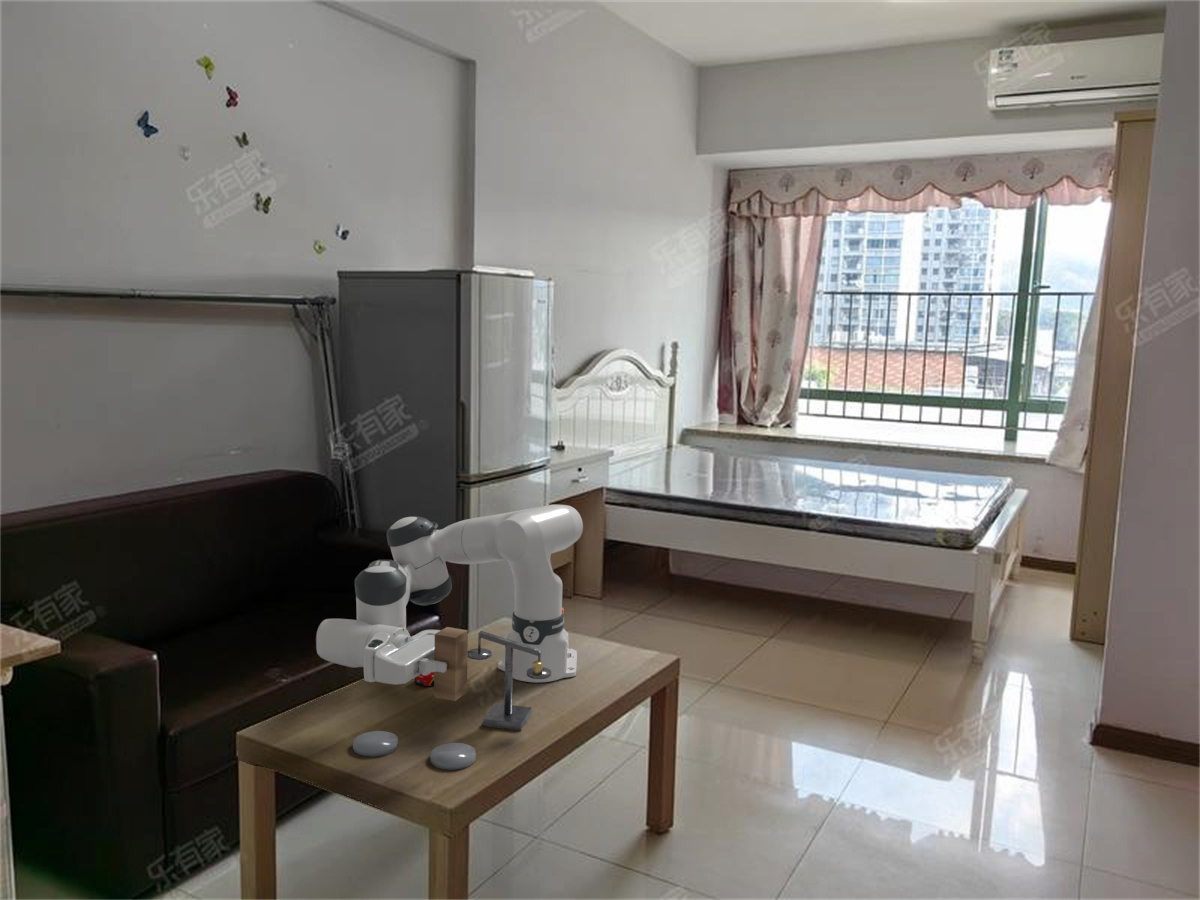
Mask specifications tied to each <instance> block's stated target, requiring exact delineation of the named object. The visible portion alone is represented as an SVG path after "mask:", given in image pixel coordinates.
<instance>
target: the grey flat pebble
mask: <svg viewBox="0 0 1200 900" xmlns="http://www.w3.org/2000/svg"><path fill="white" fill-rule="evenodd" d="M476 751H477V750H476V749H475V748H474V747H473V746H472V745H469V744H467V743H461V742H449V743H443V744H440V745H437V746H436V747H434V748H433V749H432V750H431V751H430V754H429V755H430V759H429V760H430V763H431V765H432V766H434V767H435V768H437V769H440V770H445V771H446V770H447V771H455V770H462V769H465V768H468V767H470V766H471V765H473V764H475V762H476V758H477V757H476V755H477V752H476Z"/></svg>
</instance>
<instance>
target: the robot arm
mask: <svg viewBox="0 0 1200 900" xmlns="http://www.w3.org/2000/svg"><path fill="white" fill-rule="evenodd" d="M438 527H439V524H438V523H437V522H435V521H430V520H429V519H427V518H425V517H422V516H418V515H415V516H407V517H402V518H401V519H398V520H397V521H396V522H394V523H393V524H392V525H390V526H389V527H388V529H387V531H386V539H387V540H386V541H387V546H388V547H389V548H390V552H391V555H392V558H393V560H392V559H378V560H374V561H372V562H370V563H369V565H368V566H367V567H366V568H365V569H363V570H361V571H360V572H359V574H358V575H357V576H356V577H355V579H354V590H355V591H354V592H355V601H356V619H349V618H348V619H347V618H326V619H324V620H322V621H321V622H320V624H319V625H318V628H317V631H316V634H315V649H316V653H317V655H318V656H319V657H320V658H321V659H323V660H325V661H327V662H330V663H333V664H337V665H340V666H344V667H348V668H356V669H357V668H363V677H364V681H365V682H367V683H375V682H377V683H382V684H387V685H388V684H389V685H398V686H399V685H404V684H408V683H409V682H410V681H412V680H413V679H415V677H416V676H418V675H420V674H421V673H423V672H424V673H428V672H442V673H444V672H446V671H447V670H449V661H445V660H439V661H434V646H435V634H436V633H437V632H439V631H441V630H442V629H441V630H440V629H425V630H422V631H419V632H418V633H416V634H415V635H412V636H411V634H410V633H409V631H408V630H407V608H406V607H407V605H408V603H409V602H411V603H413V604H415V605H419V606H429V605H433V604H436V603H439V602H441V601H443V600H444V599H446V597H448V596H449V595H450V593H451V591H452V589H453V582H452V577H451V575H450V574H449V572H448V568H447V564H446V562H448V563H453V564H458V565H459V564H460V565H477V564H478V565H479V564H486V563H494V562H495V563H496V562H502V561H503V562H504V561H507V563H508V565H509V568H510V570H511V574H512V579H513V586H514V587H513V588H514V590H513V591H514V601H513V602H514V604H513V605H514V606H513V607H514V609H513V610H514V611H513V612H512V616H511V628H512V629H511V630H510V631H509V632H508V633H507V634H506V636H505V638H506V639H509V640H512V641H515V642H519V643H522V644H525V645H528V646H531V647H535V648H538V649H541V651H540V652H541V661H542V662H543V667H544V668H548V669H550V670H551V676H550V677H548V678H545V679H533V678H530V677H528V676H527V670H528V669H530V668H533V662H534V661H538V656H537V655H533V654H530V653H527V652H524V651H521V650H518V649H514V648H513V679H514V680H517V681H521V682H528V683H548V682H549V683H550V682H553V681H554V682H555V681H557V680H561V679H564V678H572V677H575V676H576V675H577V668H578V666H577V665H578V650H577V649H573V648H570V647H569V643H570V642H569V641H570V636H569V635H570V634H569V633H568V631H566V629H565V628H564V627H565V617H564V614H565V609H564V607H563V580H562V579H561V577H560V576H559V575H558V574H556V573H555V572H554V570H553V566H552V562H551V557H552V556H551V555H552V554H555V553H558V552H562V551H564V550H566V549H568V548H570V547H571V546H572V545H573V544H575V543H576V542H577V541H579V539H580V538H581V536H582V534H583V530H584V523H583V519H582V517H581V514H580V512H578V510H577V509H576V508H574V507H573V506H571V505H567V504H548V505H543V506H536V507H531V508H530V507H529V508H525V509H521V510H514V511H509V512H504V513H498V514H492V515H486V516H479V517H473V518H468V519H463V520H460V521H456V522H455V523H454V522H453V523H452V524H448V525H447V526H446V527H444V528H442V529H441V528H440V529H437V528H438ZM503 655H504V657H503V659H502V660H500V661H499V662H498V663H497V669H498V670H501V671H503V672H505V652H504V654H503Z"/></svg>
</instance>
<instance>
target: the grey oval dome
mask: <svg viewBox="0 0 1200 900" xmlns="http://www.w3.org/2000/svg"><path fill="white" fill-rule="evenodd" d="M398 742H399V738H398V736H397V735H396V734H394V733H392V732H389V731H385V730H373V731H367V732H364V733H360V734H359V735H357V736H356V737H354V738H353V740H352V751H353V750H354V751H353V753H355V754H356V753H357V755H358V754H360V755H359V756H361V755H363V757H366V756H369V758H373V757H375V758H376V757H382V756H387V755H389V754H391V753H393V752H395V751H396V750H397V749H398V746H399V743H398ZM370 756H372V757H370Z"/></svg>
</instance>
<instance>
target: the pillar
mask: <svg viewBox="0 0 1200 900" xmlns="http://www.w3.org/2000/svg"><path fill="white" fill-rule="evenodd" d="M468 636H469V630H467V629H462V628H461V629H460V628H455V627H451V626H450V627H449V626H446V627H445V628H442V629H441V631H439V632H437V633H436V634H435V646H434V661H439V660H445V661H449V670H447V671H446V672H444V673H442V672H434V686H433V687H434V688H433V691H434V692H433V697H434V698H437V699H443V700H446V701H453V702H456V701H457V700H459V699H460V698H461V697H462V698H463V696H464V695H466V694H467V693H468V664H469V663H468V659H469V658H468V651H469V648H468V645H469V643H468V641H469V637H468Z"/></svg>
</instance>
